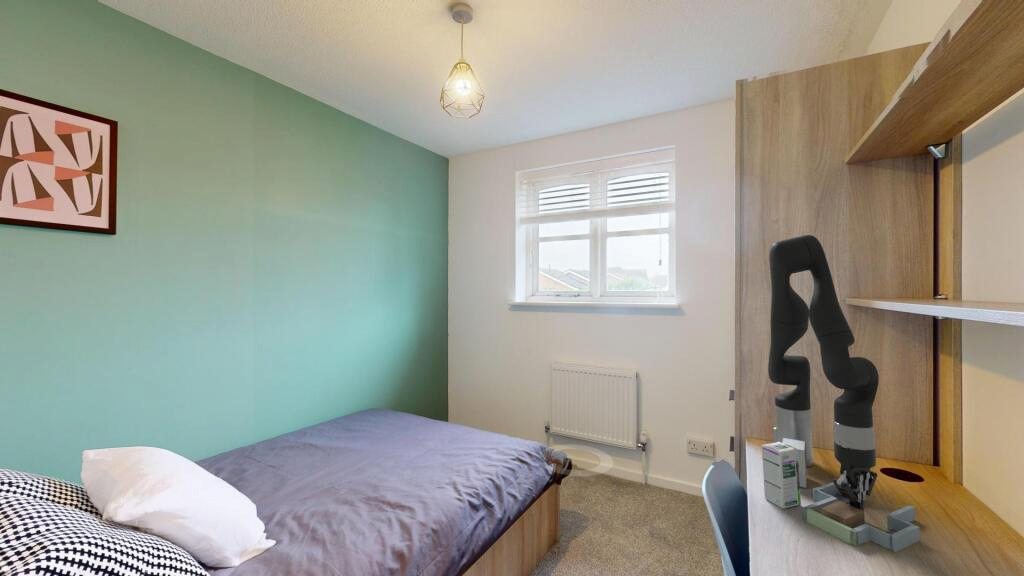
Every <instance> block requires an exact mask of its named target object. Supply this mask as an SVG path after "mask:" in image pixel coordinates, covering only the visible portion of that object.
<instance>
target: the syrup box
mask: <svg viewBox="0 0 1024 576" xmlns="http://www.w3.org/2000/svg"><path fill="white" fill-rule="evenodd" d="M761 455H762V456H761V457H762V458H761V459H762V474H763V490H764V499H766V501H768V502H770V503H772V504H774V505H776V506H777V507H779V508H781V509H783V510H786V509H787V508H792V507H796V506H801V505H802V501H801V500H802V499H801V487H800V481H799V464H798V450H797V449H796V448H794V447H792V446H790V445H787V444H785V443H781V442H777V443H774V442H772V443H766V444H764V443H763V444H762V445H761Z"/></svg>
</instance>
